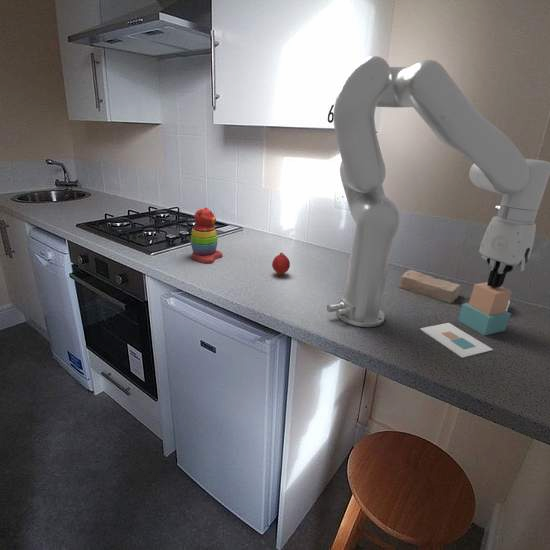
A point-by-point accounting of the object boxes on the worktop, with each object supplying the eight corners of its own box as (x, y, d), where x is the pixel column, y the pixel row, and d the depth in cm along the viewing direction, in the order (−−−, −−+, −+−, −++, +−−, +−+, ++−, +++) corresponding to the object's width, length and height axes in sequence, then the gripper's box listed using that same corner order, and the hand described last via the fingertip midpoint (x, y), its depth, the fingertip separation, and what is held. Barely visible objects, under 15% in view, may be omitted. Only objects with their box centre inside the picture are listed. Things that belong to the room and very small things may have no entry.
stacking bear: (210, 264, 124) (210, 213, 118) (184, 259, 127) (183, 209, 120) (224, 255, 134) (225, 208, 127) (200, 251, 137) (199, 204, 130)
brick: (458, 296, 113) (462, 282, 111) (451, 305, 107) (455, 290, 105) (406, 281, 123) (409, 268, 121) (397, 288, 116) (400, 275, 115)
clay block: (488, 315, 90) (495, 293, 88) (468, 304, 95) (474, 284, 93) (504, 312, 92) (512, 291, 90) (484, 302, 97) (490, 281, 95)
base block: (483, 335, 91) (489, 317, 89) (457, 320, 97) (462, 303, 96) (505, 330, 94) (511, 313, 92) (478, 316, 101) (483, 300, 99)
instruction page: (462, 357, 81) (462, 356, 81) (419, 329, 92) (420, 328, 91) (492, 350, 84) (493, 349, 84) (448, 323, 95) (448, 322, 95)
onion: (273, 270, 123) (275, 248, 120) (290, 273, 122) (292, 250, 119) (269, 276, 118) (271, 253, 115) (287, 279, 117) (289, 255, 114)
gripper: (477, 208, 89) (458, 276, 96) (538, 223, 77) (512, 300, 84) (498, 207, 92) (478, 274, 99) (560, 221, 80) (532, 296, 86)
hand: (494, 286), depth 91 cm, fingers closed
